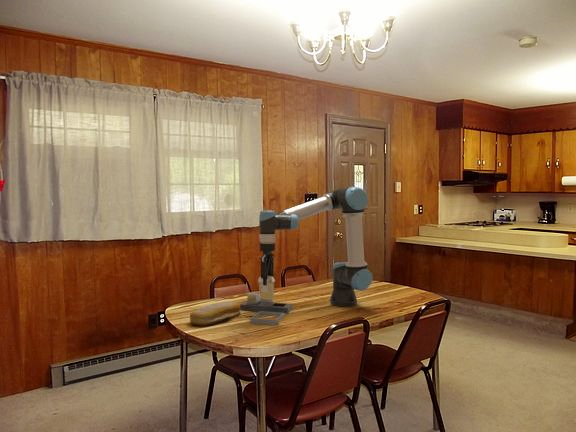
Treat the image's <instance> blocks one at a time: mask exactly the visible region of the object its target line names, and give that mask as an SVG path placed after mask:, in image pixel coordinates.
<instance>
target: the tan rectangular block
mask: <svg viewBox="0 0 576 432" xmlns="http://www.w3.org/2000/svg"><path fill="white" fill-rule="evenodd" d="M274 287H275V282H274V281H268V292H263V289H262V282H261V299H267V300H271V299H272V298H274V297H275V296H274V295H275V290H274V289H275V288H274Z"/></svg>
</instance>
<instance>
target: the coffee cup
mask: <svg viewBox="0 0 576 432" xmlns="http://www.w3.org/2000/svg"><path fill="white" fill-rule="evenodd" d="M260 277H261V276H259V277H258V280H257V282H258V290H259V293H260V302H273V301H274V299H273V298H272V299H271V300H267V299H261V282H262V278H260ZM272 281H274V283H275V282H276V279H275V278H274V276H272Z"/></svg>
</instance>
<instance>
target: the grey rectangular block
mask: <svg viewBox="0 0 576 432" xmlns="http://www.w3.org/2000/svg"><path fill="white" fill-rule="evenodd" d="M246 299H247V300H246V301H247V304H248V305H258V304H260V292H249V293H248V294H247V297H246Z"/></svg>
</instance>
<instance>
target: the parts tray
mask: <svg viewBox="0 0 576 432" xmlns="http://www.w3.org/2000/svg"><path fill="white" fill-rule="evenodd" d="M285 315H286V314H285V313H277V312H263V311H259V312H257V313H256V314H254V315H253V316H252V317H250V324H254V325H255V324H256V325H270V326H278V325H279V324H280V321H281V320H282V319H283V318H284V317H285ZM259 316H274V317H277V318H276V319H272V318H271V319H269V318H260V317H259Z"/></svg>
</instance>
